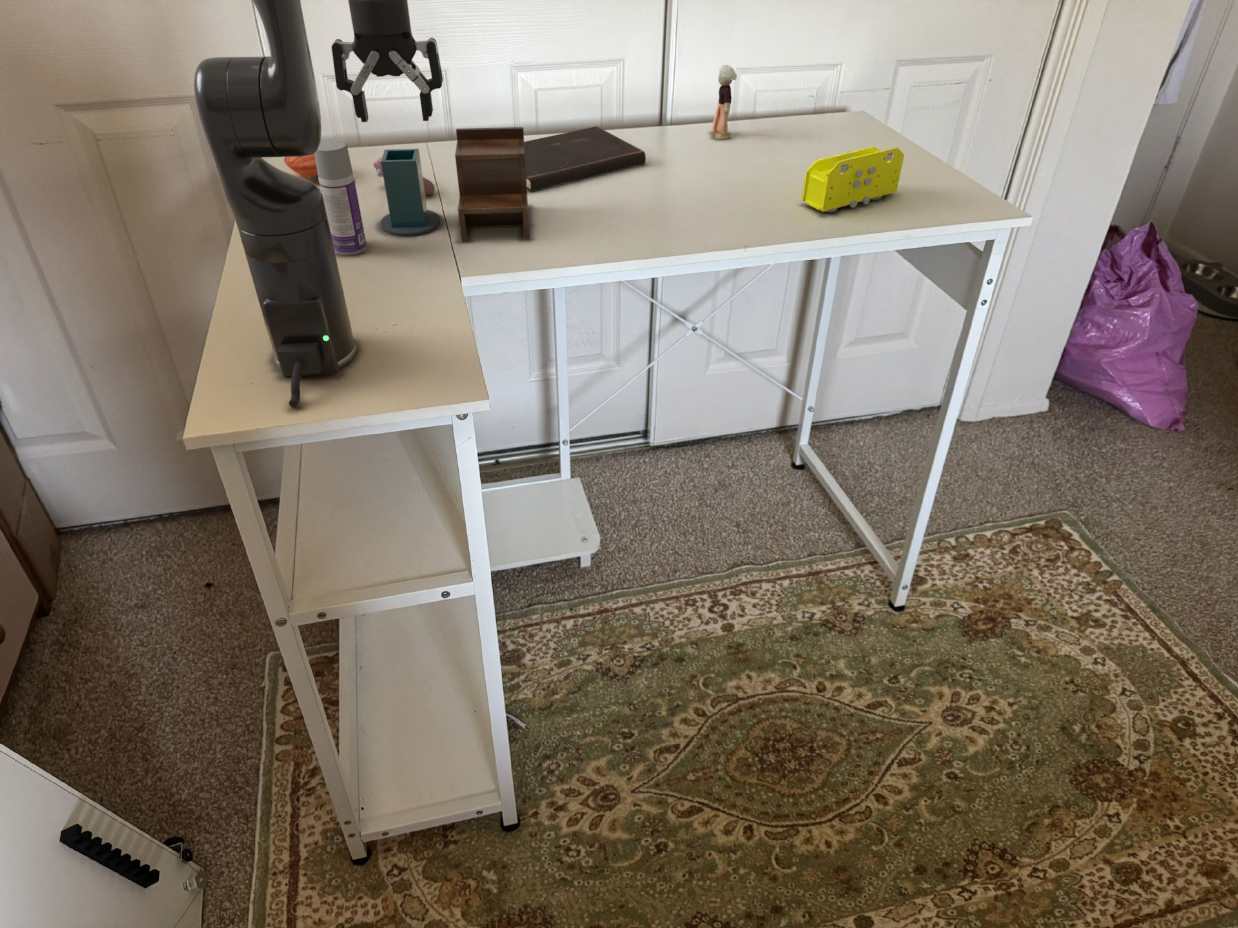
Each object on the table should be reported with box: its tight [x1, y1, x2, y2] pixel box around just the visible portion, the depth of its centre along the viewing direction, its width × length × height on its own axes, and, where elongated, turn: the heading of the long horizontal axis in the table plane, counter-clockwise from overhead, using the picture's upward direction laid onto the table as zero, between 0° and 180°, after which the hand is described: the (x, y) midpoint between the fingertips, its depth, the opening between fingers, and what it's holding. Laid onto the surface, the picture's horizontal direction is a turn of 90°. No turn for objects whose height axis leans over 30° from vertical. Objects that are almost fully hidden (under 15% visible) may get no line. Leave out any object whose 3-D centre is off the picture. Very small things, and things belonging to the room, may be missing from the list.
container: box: [314, 138, 368, 256], centre depth 121 cm, size 5×5×15 cm
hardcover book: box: [524, 125, 647, 192], centre depth 152 cm, size 16×23×2 cm
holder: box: [381, 148, 428, 228], centre depth 129 cm, size 5×5×10 cm
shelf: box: [454, 126, 530, 242], centre depth 129 cm, size 12×10×12 cm
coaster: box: [380, 209, 442, 237], centre depth 133 cm, size 9×9×1 cm
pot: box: [283, 154, 318, 180], centre depth 145 cm, size 8×8×7 cm
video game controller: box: [373, 156, 436, 196], centre depth 141 cm, size 10×5×7 cm, turn 45°
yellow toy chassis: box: [801, 146, 905, 213], centre depth 138 cm, size 16×6×8 cm, turn 121°
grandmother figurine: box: [710, 64, 738, 140], centre depth 160 cm, size 8×4×13 cm, turn 10°
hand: (396, 120), depth 123 cm, fingers open, 8 cm apart
